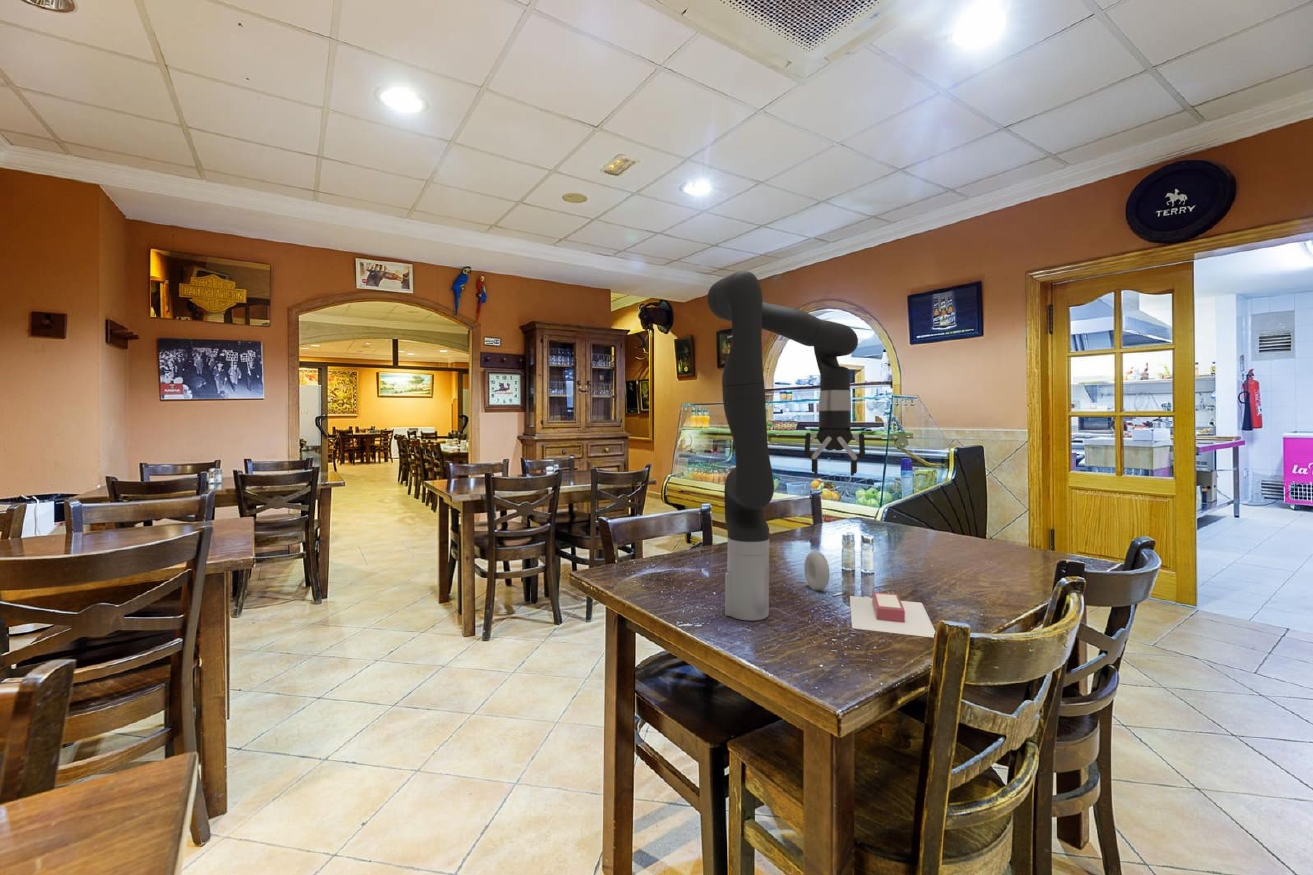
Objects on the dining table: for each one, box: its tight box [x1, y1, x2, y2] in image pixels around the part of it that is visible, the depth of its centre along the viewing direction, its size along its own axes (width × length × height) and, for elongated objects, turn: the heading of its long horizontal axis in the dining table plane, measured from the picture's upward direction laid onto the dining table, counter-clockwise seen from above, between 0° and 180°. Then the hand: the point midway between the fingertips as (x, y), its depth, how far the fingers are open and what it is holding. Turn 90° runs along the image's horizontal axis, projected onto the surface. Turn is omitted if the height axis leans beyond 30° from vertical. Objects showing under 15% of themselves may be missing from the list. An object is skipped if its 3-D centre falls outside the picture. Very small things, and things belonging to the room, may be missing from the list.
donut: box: [803, 550, 830, 592], centre depth 139 cm, size 10×4×10 cm, turn 9°
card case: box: [871, 591, 905, 623], centre depth 121 cm, size 6×3×12 cm
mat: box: [849, 595, 936, 639], centre depth 120 cm, size 16×22×1 cm
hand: (834, 474), depth 134 cm, fingers open, 8 cm apart
